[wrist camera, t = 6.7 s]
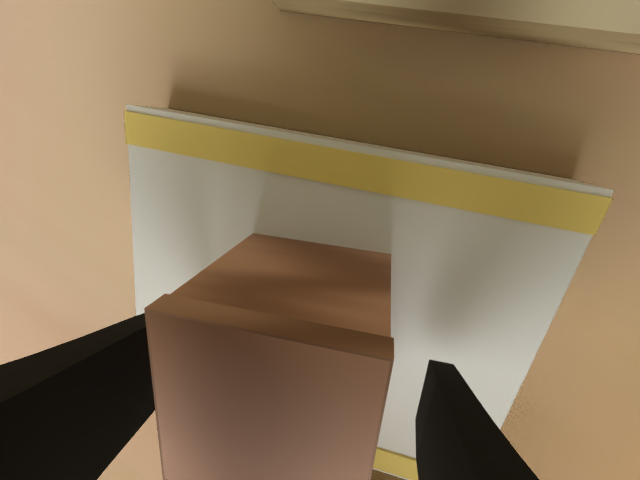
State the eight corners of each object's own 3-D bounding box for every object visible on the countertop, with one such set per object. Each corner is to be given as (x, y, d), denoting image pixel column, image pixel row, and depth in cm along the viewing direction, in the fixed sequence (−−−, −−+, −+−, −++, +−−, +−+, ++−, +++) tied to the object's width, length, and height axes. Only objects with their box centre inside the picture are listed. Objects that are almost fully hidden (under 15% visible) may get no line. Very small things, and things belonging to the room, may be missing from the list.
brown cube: (392, 253, 10) (394, 359, 5) (372, 373, 11) (359, 537, 7) (251, 231, 11) (144, 308, 6) (249, 347, 12) (162, 479, 8)
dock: (573, 179, 10) (616, 190, 8) (456, 451, 14) (467, 501, 12) (167, 108, 12) (123, 104, 10) (168, 365, 16) (138, 396, 14)
